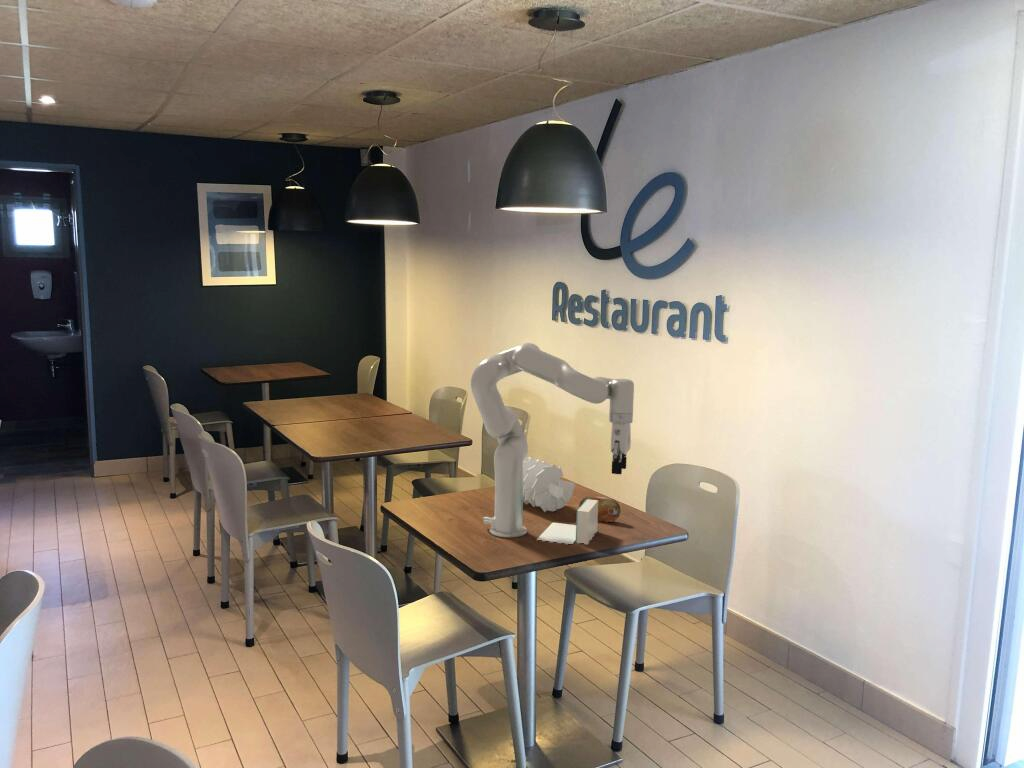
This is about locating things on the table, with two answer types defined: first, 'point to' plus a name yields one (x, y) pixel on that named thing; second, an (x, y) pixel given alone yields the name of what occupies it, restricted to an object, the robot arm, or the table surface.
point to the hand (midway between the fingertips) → (618, 470)
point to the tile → (586, 521)
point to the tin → (605, 508)
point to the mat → (559, 533)
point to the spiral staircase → (545, 485)
